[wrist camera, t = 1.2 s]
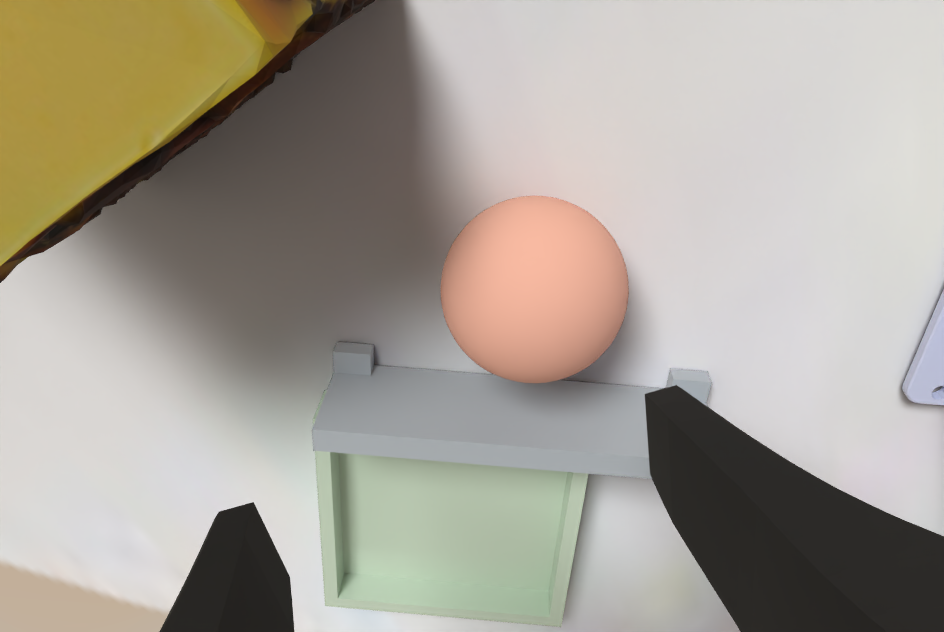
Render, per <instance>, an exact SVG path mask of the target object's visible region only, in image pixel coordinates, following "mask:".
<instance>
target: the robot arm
mask: <svg viewBox="0 0 944 632" xmlns="http://www.w3.org/2000/svg"><path fill="white" fill-rule="evenodd" d="M939 386H943V387H942V388H941V389H940V390H938V391H936V392H932V391H933V390H934V389H935V388H937V387H939ZM902 389H903V392H904V394H905V395H906V396H907V398H908V399H909V400H910V401H912V402H914V403H919V404H932V405H944V290H943V292H942V294H941V297H940V299H939V301H938V303H937V306H936V308H935V310H934V313H933V315H932V317H931V320H930V322H929V324H928V327H927V329H926V331H925V334H924V336H923V338H922V341H921V343H920V345H919V348H918V350H917V352H916V355H915V357H914V359H913V362H912V364H911V366H910V369H909V371H908V373H907V376H906V378H905V380H904V383H903V387H902ZM645 407H646V422H647V437H648V452H649V467H650V475H651V477H652V480H653V482H654V484H655V486H656V488H657V491H658V493H659V495H660V497H661V499H662V501H663V504H664V506H665V508H666V510H667V512H668V514H669V516H670V518H671V520H672V522H673V524H674V526H675V527H676V529H677V530H678V532H679V534H680V535H681V537H682V539H683V540H684V542H685V543H686V545H687V547H688V548H689V550H690V551H691V553H692V555H693V556H694V558H695V560H696V561H697V563H698V564H699V566H700V567H701V569H702V571H703V572H704V574H705V575H706V577H707V579H708V580H709V582H710V583H711V585H712V586H713V588H714V590H715V591H716V593H717V594H718V596H719V598H720V599H721V601H722V602H723V604H724V606H725V607H726V609H727V610H728V612H729V613H730V615H731V617H732V618H733V620H734V621H735V623H736V625H737V626H738V628H739V630H740V631H741V632H944V536H941V535H939V534H936V533H934V532H932V531H929V530H927V529H924V528H922V527H919V526H917V525H914V524H912V523H909V522H907V521H905V520H902V519H900V518H898V517H895V516H893V515H891V514H889V513H886V512H884V511H882V510H880V509H878V508H876V507H874V506H872V505H870V504H867V503H865V502H863V501H861V500H859V499H857V498H855V497H853V496H851V495H849V494H847V493H845V492H843V491H841V490H839V489H837V488H835V487H833V486H831V485H830V484H828V483H826V482H824V481H822V480H821V479H819V478H817V477H815V476H814V475H812V474H810V473H808V472H807V471H805V470H803V469H802V468H800V467H798V466H796V465H795V464H793V463H791V462H790V461H788V460H787V459H785V458H783V457H782V456H780V455H778V454H777V453H775V452H774V451H772V450H771V449H769V448H768V447H766V446H764V445H763V444H761V443H760V442H758V441H757V440H755V439H754V438H752V437H750V436H749V435H747V434H746V433H745V432H743V431H742V430H740V429H739V428H737V427H736V426H734V425H733V424H731V423H730V422H728V421H727V420H726V419H724V418H723V417H721V416H720V415H718V414H717V413H716V412H714V411H713V410H711V409H710V408H709V407H707V406H706V405H704V404H703V403H702V402H700V401H699V400H697V399H696V398H695V397H693V396H692V395H690V394H689V393H688V392H686V391H685V390H683V389H682V388H680V387H679V386H677V385H675V386H671V387H667V388H664V389H660V390H657V391H653V392H649V393H646V394H645ZM160 632H294V622H293V608H292V596H291V585H290V577H289V574H288V572H287V570H286V568H285V566H284V564H283V562H282V560H281V558H280V556H279V554H278V552H277V550H276V548H275V546H274V544H273V541H272V539H271V537H270V535H269V533H268V531H267V529H266V527H265V525H264V523H263V521H262V519H261V517H260V515H259V513H258V511H257V508H256V506H255V504H254V502H253V503H249V504H245V505H242V506H238V507H235V508H231V509H227V510H224V511H220V512H219V513H218V514H217V516H216V517H215V519H214V521H213V524H212V526H211V528H210V530H209V532H208V534H207V537H206V539H205V541H204V543H203V545H202V547H201V550H200V552H199V554H198V556H197V558H196V560H195V562H194V564H193V567H192V569H191V571H190V573H189V575H188V577H187V579H186V581H185V583H184V585H183V587H182V589H181V591H180V593H179V595H178V597H177V599H176V601H175V603H174V605H173V607H172V609H171V611H170V613H169V614H168V616H167V618H166V620H165V622H164V624H163V626H162V628H161V630H160Z"/></svg>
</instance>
